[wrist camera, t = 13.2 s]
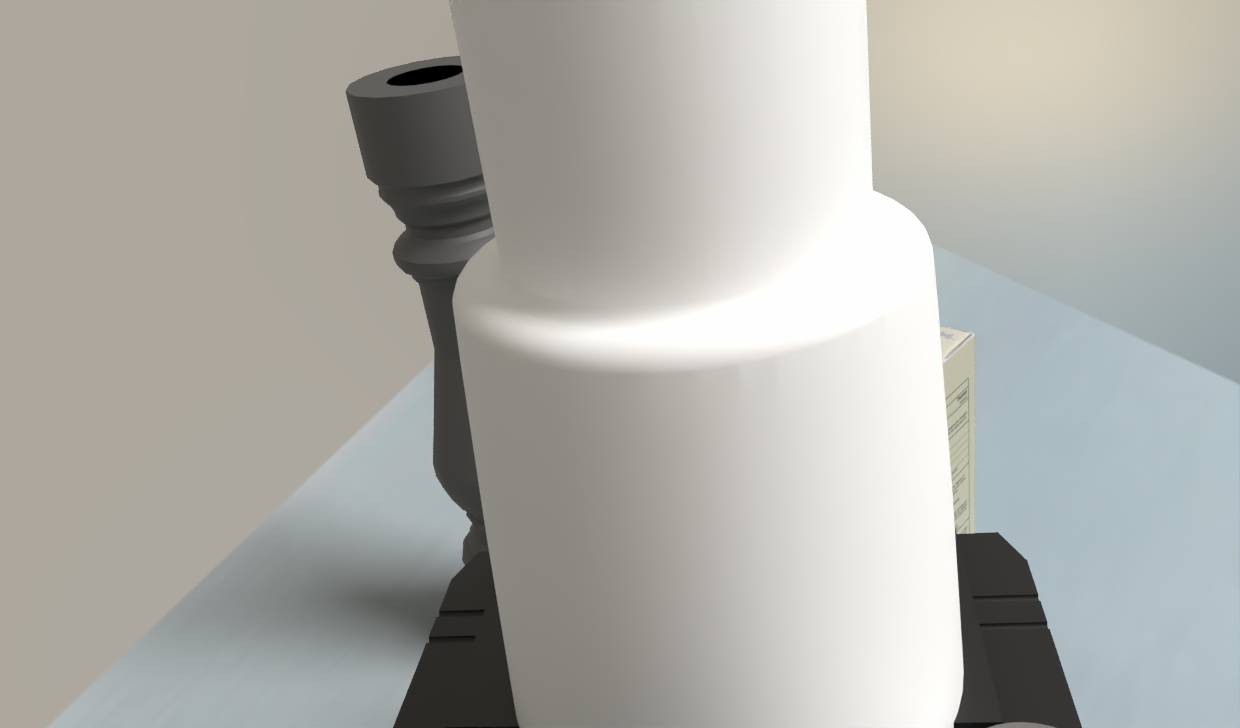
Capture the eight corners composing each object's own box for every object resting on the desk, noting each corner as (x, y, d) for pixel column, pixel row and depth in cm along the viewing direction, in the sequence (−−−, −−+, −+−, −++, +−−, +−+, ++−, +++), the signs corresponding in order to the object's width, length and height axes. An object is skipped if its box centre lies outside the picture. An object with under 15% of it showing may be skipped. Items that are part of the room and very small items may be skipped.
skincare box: (892, 542, 52) (885, 307, 47) (979, 573, 50) (981, 327, 44) (814, 618, 49) (796, 371, 43) (904, 657, 46) (896, 398, 40)
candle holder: (629, 648, 48) (529, 73, 37) (490, 691, 47) (344, 111, 36) (592, 567, 54) (495, 45, 43) (467, 604, 53) (333, 76, 41)
